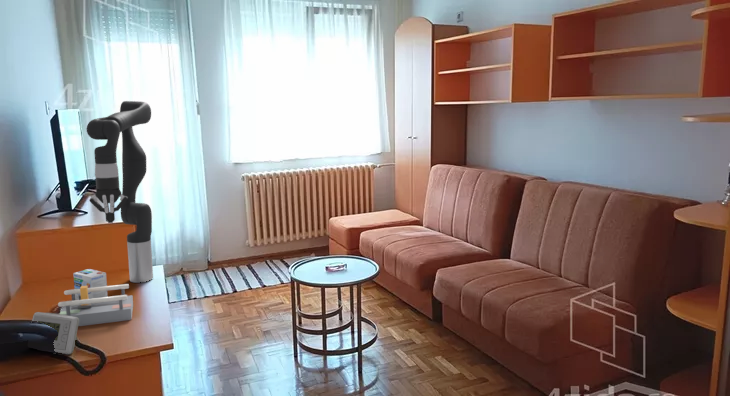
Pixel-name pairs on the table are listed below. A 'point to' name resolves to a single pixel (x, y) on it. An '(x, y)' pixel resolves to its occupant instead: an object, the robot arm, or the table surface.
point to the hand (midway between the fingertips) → (110, 222)
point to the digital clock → (60, 330)
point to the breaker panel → (99, 306)
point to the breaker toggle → (84, 297)
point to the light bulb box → (90, 282)
